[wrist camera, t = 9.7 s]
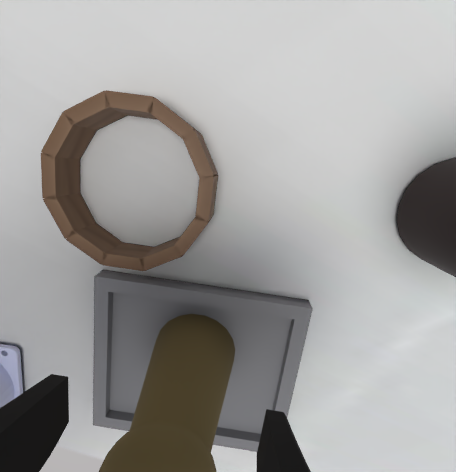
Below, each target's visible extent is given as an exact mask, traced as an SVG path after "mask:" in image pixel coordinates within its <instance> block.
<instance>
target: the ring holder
mask: <svg viewBox="0 0 456 472" xmlns="http://www.w3.org/2000/svg"><path fill="white" fill-rule="evenodd" d="M127 115H129V116H136V117H144V118H151V119H158V120H159V121H161V122H162V123H163V124H165V125H166V126H167V127H168V128H170V129H171V130H172V131H173V132H175V133H176V134H177V135H178V136H180V137H181V138H182V139H183V140H184V143H185V145H186V147H187V150H188V152H189V154H190V157H191V159H192V161H193V164H194V166H195V168H196V171H197V173H198V175H199V178H200V179H199V188H198V198H197V208H196V217H195V218H194V220H193V221H192V222H191V224H190V225H189V226H188V228H187V229H186V230H185V232H184V233H183V234H182V236H181V237H178V238H176V239H173V240H171V241H168V242H166V243H163V244H161V245H158V246H156V247H150V246H143V245H136V244H130V243H123V242H121V241H120V240H119V239H117V238H116V237H114V236H113V235H112V234H110V233H109V232H108V231H106V230H105V229H103V228H102V227H101V226H99V225H98V224H96V222H95V220H94V218H93V217H92V215H91V213H90V211H89V209H88V207H87V205H86V203H85V201H84V200H83V198H82V196H81V194H80V158H81V156H82V155H83V153H84V151H85V150H86V148H87V146H88V144H89V143H90V141H91V139H92V138H93V136H94V134H95V133H96V131H97V130H98V129H100V128H102V127H104V126H106V125H108V124H111V123H113V122H115V121H117V120H119V119H121V118H123V117H125V116H127ZM41 152H42V153H41V169H42V195H43V198H45V199H43V200H44V202H45V204H46V206H47V207H48V209H49V211H50V213H51V215H52V216H53V218H54V220H55V222H56V224H57V225H58V227H59V229H60V231H61V232H62V234H63V236H64V238H67V239H66V240H67V241H69V242H70V243H71V244H73V245H74V246H76V247H77V248H78V249H80V250H81V251H83V252H84V253H86V254H87V255H88V256H90V257H91V258H93V259H94V260H96V261H97V262H98V263H100V264H103V265H106V266H112V267H119V268H126V269H133V270H140V271H146V270H148V269H151V268H153V267H156V266H159V265H161V264H164V263H166V262H169V261H172V260H174V259H177V258H179V257H182V256H183V255H184V254H185V252H186V251H187V250H188V249H189V247H190V246H191V245H192V243H193V242H194V241H195V239H196V238H197V237H198V236H199V234H200V233H201V232H202V230H203V229H204V228H205V226H206V225H207V224H208V222H209V221H210V219H211V218H212V216H213V214H214V205H215V197H216V189H217V180H218V175H217V174H218V173H217V171H216V168H215V166H214V163H213V161H212V158H211V156H210V154H209V151H208V149H207V146H206V144H205V141H204V139H203V136H202V135H201V133H199V132H198V131H197V130H196V129H194V128H193V127H192V126H191V125H189V124H188V123H187V122H185V121H184V120H183V119H182V118H180V117H179V116H178V115H177V114H175V113H174V112H173V111H172V110H170V109H169V108H168V107H167V106H165V105H164V104H163V103H161V102H160V101H159V100H158V99H156V98H154V97H151V96H144V95H136V94H129V93H121V92H114V91H103V92H101V93H99V94H97V95H95V96H93V97H91V98H89V99H87V100H85V101H83V102H81V103H79V104H77V105H75V106H73V107H71V108H69V109H67V110H65V111H64V112H62V114H61V116H60V118H59V120H58V122H57V123H56V125H55V127H54V129H53V131H52V133H51V134H50V136H49V138H48V140H47V142H46V144H45V145H44V147H43V149H42V151H41Z"/></svg>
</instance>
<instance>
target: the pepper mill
mask: <svg viewBox="0 0 456 472" xmlns="http://www.w3.org/2000/svg"><path fill="white" fill-rule="evenodd" d="M234 356H235V346H234V342H233V338H232V337H231V335H230V334H229V332H228V330H227V329H226V328H225V327H224V326H223V325H221V324H220V323H219V322H218V321H216V320H214V319H212V318H210V317H207V316H205V315H198V314H187V315H181V316H178V317H176V318H174V319H172V320H170V321H168V322H167V323H166V324H165V325H164V326H163V327H162V328H161V330H160V332H159V334H158V337H157V339H156V342H155V345H154V349H153V352H152V356H151V359H150V362H149V366H148V369H147V373H146V376H145V379H144V383H143V386H142V390H141V393H140V396H139V400H138V403H137V407H136V410H135V413H134V417H133V420H132V424H131V427H130V431H129V432H127V433H126V434H125V435H124V436H123V437H122V438H121V439H119V440H118V441H117V442H116V444H115V445H114V446H113V447H112V449H111V450H110V451H109V452H108V454H107V456H106V458H105V460H104V462H103V464H102V466H101V468H100V470H99V472H216V468H215V464H214V460H213V457H212V455H211V449H212V445H213V441H214V437H215V433H216V430H217V426H218V422H219V418H220V414H221V410H222V406H223V402H224V398H225V394H226V390H227V386H228V382H229V378H230V374H231V370H232V366H233V362H234Z"/></svg>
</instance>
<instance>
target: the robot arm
mask: <svg viewBox="0 0 456 472" xmlns="http://www.w3.org/2000/svg"><path fill="white" fill-rule="evenodd" d="M68 422H69V410H68V377H65V376H59V375H53V374H51V375H50V376H48V377H47V378H45V379H44V380H42V381H40V382H39V383H37V384H36V385H34V386H33V387H31V388H30V389H28V390H27V391H25V392H24V393H23V385H22V371H21V356H20V350H19V348H17V347H15V346H11V345H4V344H0V472H39V471H40V470H41V468H42V467H43V465H44V464H45V462H46V461H47V459H48V458H49V456H50V455H51V453H52V451H53V449H54V448H55V446H56V444H57V442H58V441H59V439H60V437H61V435H62V433H63V431H64V430H65V428H66V426H67V424H68ZM257 472H311V471H310V469H309V467H308V465H307V463H306V461H305V459H304V457H303V455H302V452H301V450H300V448H299V446H298V444H297V441H296V439H295V437H294V434H293V432H292V429H291V427H290V425H289V422H288V419H287V417H286V415H285V413H284V412H280V411H274V410H268V409H266V413H265V418H264V422H263V427H262V432H261V436H260V441H259V446H258V450H257Z"/></svg>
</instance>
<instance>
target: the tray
mask: <svg viewBox="0 0 456 472" xmlns="http://www.w3.org/2000/svg"><path fill="white" fill-rule="evenodd" d="M311 313H312V307H311V305H310V302H309V300H303V299H297V298H290V297H283V296H276V295H270V294H263V293H256V292H249V291H242V290H236V289H229V288H222V287H215V286H209V285H202V284H195V283H188V282H182V281H175V280H168V279H161V278H154V277H148V276H141V275H134V274H127V273H121V272H114V271H107V270H102V271H101V272H100V273H98V274H97V275H96V276H94V378H93V425H95V426H101V427H107V428H113V429H119V430H126V431H130V427H131V424H132V420H133V417H134V413H135V410H136V407H137V403H138V400H139V396H140V393H141V390H142V386H143V383H144V379H145V376H146V373H147V369H148V366H149V362H150V359H151V356H152V352H153V349H154V345H155V342H156V339H157V337H158V334H159V332H160V330H161V328H162V327H163V326H164V325H165V324H166V323H167V322H168V321H170V320H172V319H174V318H176V317H178V316H181V315H187V314H198V315H205V316H207V317H210V318H212V319H214V320H216V321H218V322H219V323H220V324H221V325H223V326H224V327H225V328H226V329H227V330H228V332H229V334H230V335H231V337H232V338H233V342H234V346H235V356H234V362H233V366H232V370H231V374H230V378H229V382H228V386H227V390H226V394H225V398H224V402H223V406H222V410H221V414H220V418H219V422H218V426H217V430H216V433H215V437H214V441H213V445H218V446H225V447H231V448H237V449H243V450H249V451H256V452H257V450H258V446H259V441H260V436H261V432H262V427H263V422H264V418H265V413H266V409H268V410H274V411H280V412H284V413H285V415H286V417H287V416H288V411H289V407H290V403H291V399H292V394H293V390H294V386H295V381H296V377H297V373H298V369H299V364H300V360H301V356H302V351H303V347H304V343H305V339H306V334H307V330H308V326H309V321H310V317H311Z"/></svg>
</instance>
